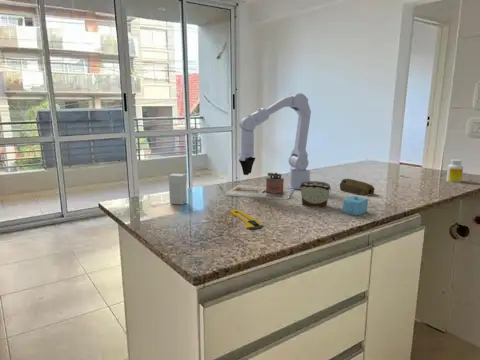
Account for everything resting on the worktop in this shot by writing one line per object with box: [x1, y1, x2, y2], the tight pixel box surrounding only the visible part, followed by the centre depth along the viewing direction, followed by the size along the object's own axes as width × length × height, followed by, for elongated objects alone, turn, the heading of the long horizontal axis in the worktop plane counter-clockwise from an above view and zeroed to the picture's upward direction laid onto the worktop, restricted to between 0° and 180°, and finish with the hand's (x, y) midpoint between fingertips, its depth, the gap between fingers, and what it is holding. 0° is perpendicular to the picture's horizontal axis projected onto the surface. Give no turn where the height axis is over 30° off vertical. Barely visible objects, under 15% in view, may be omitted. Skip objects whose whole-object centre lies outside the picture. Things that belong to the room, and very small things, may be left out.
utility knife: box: [228, 209, 264, 231], centre depth 130 cm, size 7×22×2 cm, turn 26°
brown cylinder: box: [339, 178, 375, 196], centre depth 165 cm, size 15×7×7 cm, turn 43°
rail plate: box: [224, 184, 296, 200], centre depth 168 cm, size 28×18×1 cm, turn 72°
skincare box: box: [168, 173, 188, 206], centre depth 151 cm, size 6×4×12 cm
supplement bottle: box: [445, 158, 464, 183], centre depth 183 cm, size 7×7×13 cm
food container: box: [299, 180, 332, 208], centre depth 146 cm, size 12×6×10 cm, turn 65°
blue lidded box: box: [342, 195, 369, 216], centre depth 135 cm, size 12×6×8 cm, turn 136°
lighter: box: [265, 172, 285, 195], centre depth 165 cm, size 8×3×10 cm, turn 78°
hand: (247, 173), depth 168 cm, fingers open, 3 cm apart
